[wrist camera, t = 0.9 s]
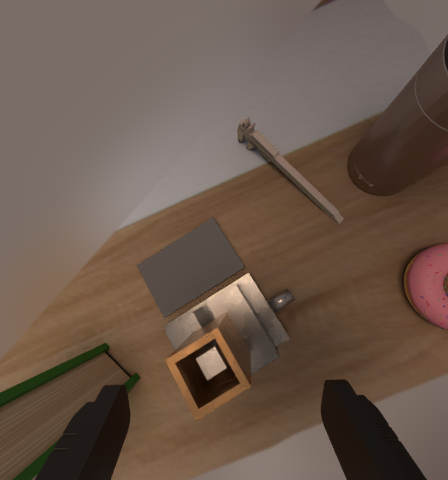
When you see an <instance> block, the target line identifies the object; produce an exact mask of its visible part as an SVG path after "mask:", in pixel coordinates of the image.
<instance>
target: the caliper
mask: <svg viewBox="0 0 448 480" xmlns="http://www.w3.org/2000/svg"><path fill="white" fill-rule="evenodd" d="M254 126H255V123H253V124H251V125H250V119H249V117H248V118H247V119H246V120H245V119H243V120H242V121H241V122H240V123H239V126H238V129H237V131H238V141H239V142H240V143H241V142H242V141H243V140H244V139H245V137H246V138H248V139H249V142H248V144H247V149H248V150H250V149H252V148H254V147H255V148H256V149H257V150H258V151H259V152H260V154H261V155H262V156H263V157H264V158H266V160H267V161H268V162H269V163H271V162H272V163H273V164H274V165H276V166H277V167H278V168H279V169H280V170H281V171H282V172H283V173H284V174H285V175H286V176H287V177H288V178H289V179H290V180H291V181H292V182H293V183H294V184H295V185H296V186H297V187H299V188H300V189H301V190H302V191H303V192H304V193H305V194H306V195H307V196H308V197H309V198H310V199H311V200H312V201H313V202H314V203H315V204H316V205H317V206H318V207H319V208H320V209H321V210H322V211H323V212H325V213H326V214H327V215H328V216H330V217H331V218H333V219H334V220H335V221H336V222H337V223H338V224H340V223H341V222H342V221H343V220H344V218H343V217H342V216H341V215H340V214H339V213H340V212H339V211H338V210H337V209H336V208H335V207H334V206H333V205H332V204H331V203H330V202H329V201H328V200H327V199H326V198H325V197H324V196H323V195H322V194H321V193H320V192H319V191H318V190H316V189H315V188H314V187H313V186H312V185H311V184H310V183H309V182H308V181H307V180H306V179H305V178H304V177H303V176H302V175H301V174H300V173H299V172H298V171H297V170H296V169H295V168H293V167H292V166H291V165H290V164H289V163H288V162H287V161H286V160H285V159H284V158H283V157H282V156H281V155H280V154H279V151H278V150H277V149H276V148H275V147H274V146H273V145H272V144H271V143H270V142H269V141H268V140H267V139H266V138H264V137H263V136H262V135H261V134H260V133H259V132H258V131H257V130H256V131H255V130H254Z"/></svg>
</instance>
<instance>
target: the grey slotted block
mask: <svg viewBox="0 0 448 480" xmlns="http://www.w3.org/2000/svg"><path fill="white" fill-rule="evenodd" d="M294 300H295V299H294V297H293V296H292V294H291V293H290V291H289V290H288V289H286V290H284V291H283V292H281V293H279V294H278V295H276V296H275V297H273V298H271V299H270V300H268V301H266V300H265V298H264V296H263V295H262V293H261V292H260V290H259V289H258V287H257V285H256V284H255V282H254V281H253V279H252V278H251V276H250V274H249V273H248V274H246V275H244V276H243V277H241V278H240V279H238V280H236V281H235V282H233V283H232V284H230V285H228V286H227V287H225V288H224V289H222V290H220V291H219V292H217V293H216V294H214V295H213V296H211V297H209V298H208V299H206V300H205V301H203V302H201V303H200V304H198V305H197V306H195V307H193V308H192V309H190V310H189V311H187V312H186V313H184V314H182V315H181V316H179V317H178V318H176V319H174V320H173V321H171V322H170V323H168V324H166V325H165V326H164V327H165V329H166V330H164V331H165V332H166V334H167V336H168V338H169V340H170V342H171V344H172V346H173V348H174V350H176V349H177V348H178V347H179V346H180V345H181V344H182V343H183V342H184V341H185V340H186V339H187V338H188V337H189V336H190V335H191V334H192V333H194V332H196V331H197V330H199V329H200V328H202V327H204V326H205V325H207V324H208V323H210V322H212V321H213V320H215V319H216V318H218V317H220V316H221V315H223V314H224V313H226V312H228V314H229V316H230V318H231V319H232V321H233V323H234V324H235V326H236V328H237V329H238V331H239V333H240V334H241V336H242V338H243V340H244V341H245V343H246V345H247V346H248V348H249V350H250V351H251V374H253V373H254V372H256V371H257V370H259V369H261V368H262V367H264V366H266V365H267V364H269V363H270V362H272V361H274V360H275V359H277V358H278V357H280V355H279V353H278V350H277V346H279V345H280V344H282V343H284V342H285V341H287V340H288V339H290V338H289V336H288V334H287V333H286V331H285V330H284V328H283V327H282V325H281V323H280V322H279V320H278V319H277V317H276V315H275V314H274V313H275V312H277V311H278V310H280V309H281V308H283V307H285V306H286V305H288V304H289V303H291V302H293V301H294ZM196 360H197V362H198V364H199V365H200V367H201V369H202V371H203V373H204V375H205V377H206V379H207V380H208V379H210V378H212V377H213V376H215V375H216V374H218V373H220V372H221V371H223V370H225V369H226V368H227V365H228V361H227V359H226V357H225V355H224V354H223V352H222V350H221V348H220V347H219V345H218V343H217V341H216V340H215V339H213V340H212V341H210V342H208V343H207V344H205V345H204V346H203V348H202V350H201V352H200V353H199V355H198V356H197V358H196Z"/></svg>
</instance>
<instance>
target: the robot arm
mask: <svg viewBox="0 0 448 480" xmlns="http://www.w3.org/2000/svg"><path fill="white" fill-rule="evenodd" d="M446 165H448V35H447V36H446V37H445V39H444V40H443V41H442V42H441V43H440V45H439V46H438V47H437V48H436V50H435V51H434V52H433V53H432V54H431V56H430V57H429V58H428V59H427V60H426V62H425V63H424V64H423V65H422V67H421V68H420V69H419V70H418V72H417V73H416V74H415V75H414V76H413V78H412V79H411V80H410V81H409V82H408V84H407V85H406V86H405V87H404V88H403V90H402V91H401V92H400V93H399V94H398V96H397V97H396V98H395V99H394V101H393V102H392V103H391V104H390V105H389V107H388V108H387V109H386V110H385V111H384V113H383V114H382V115H381V116H380V117H379V119H378V120H377V121H376V122H375V123H374V125H373V126H372V127H371V128H370V129H369V131H368V132H367V133H366V134H365V135H364V137H363V138H362V139H361V140H360V141H359V143H358V144H357V145H356V146H355V148H354V149H353V150H352V152H351V153H350V156H349V159H348V171H349V174H350V177H351V178H352V180H353V181H354V183H355V184H356V185H357V186H358V187H359V188H361V189H362V190H364V191H366V192H368V193H371V194H375V195H390V194H394V193H397V192H399V191H401V190H403V189H404V188H406V187H408V186H410V185H412V184H413V183H415V182H417V181H419V180H421V179H423V178H424V177H426V176H428V175H430V174H432V173H433V172H435V171H437V170H439V169H440V168H442V167H444V166H446ZM321 416H322V421H323V424H324V427H325V429H326V431H327V434H328V436H329V439H330V441H331V444H332V445H333V448H334V451H335V453H336V455H337V458H338V460H339V462H340V465H341V467H342V469H343V472H344V474H345V476H346V479H347V480H427V479H426V478H425V477H424V475H423V474H422V472H421V471H420V469H419V468H418V466H417V465H416V463H415V462H414V460H413V459H412V458H411V456H410V455H409V453H408V452H407V450H406V449H405V448H404V446H403V444H402V443H401V442H400V441H399V440H398V437H397V436H396V434H395V433H394V431H393V430H392V428H391V427H389V425H388V423H387V421H386V420H385V418H384V417H383V415H382V414H381V412H380V411H379V410H378V408H377V407H376V406H375V405H374V404H372V403H371V402H370V401H369V400H368V399H367V398H366V397H365V396H364V395H356V393H355V392H354V390H353V388H352V387H351V385H350V384H349V382H348V381H347V380H344V379H343V380H326V381H325V383H324V390H323V396H322V403H321ZM129 423H130V408H129V402H128V395H127V389H126V386H125V385H105V386H103V388H102V389H101V391H100V392H99V394H98V396H97V398H96V400H95V402H86V403H85V405H84V406H83V407H82V408H81V409H80V410H79V411H78V412H77V413H76V414H75V415H74V416H73V417H72V419H71V420H70V422H69V424H68V425H67V427H66V429H65V430H64V432H63V435H62V437H60V438H59V440H58V442H57V443H56V445H55V447H54V450H53V452H51V453H50V455H49V457H48V458H47V460H46V462H45V463H44V465H43V467H42V468H41V470H40V472H39V473H38V475H37V477H36V478H35V480H111V477H112V474H113V471H114V468H115V466H116V463H117V460H118V457H119V454H120V452H121V449H122V446H123V443H124V440H125V437H126V435H127V432H128V428H129Z"/></svg>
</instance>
